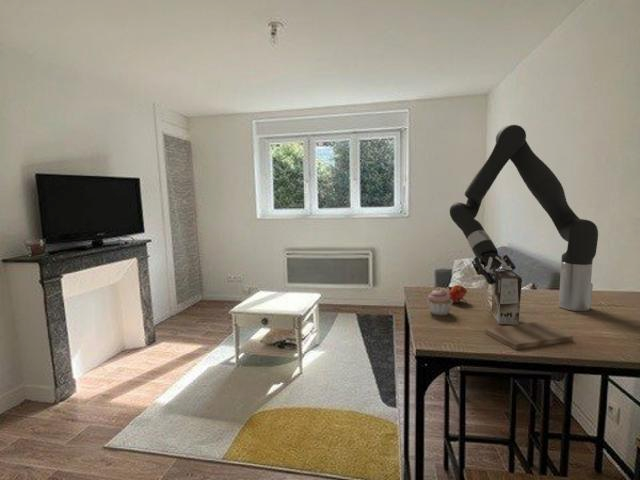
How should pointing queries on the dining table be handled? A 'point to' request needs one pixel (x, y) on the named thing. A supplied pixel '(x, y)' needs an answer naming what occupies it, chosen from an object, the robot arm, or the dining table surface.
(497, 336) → the walnut board
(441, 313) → the cupcake
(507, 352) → the dining table surface
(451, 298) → the pomegranate
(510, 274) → the coffee box
